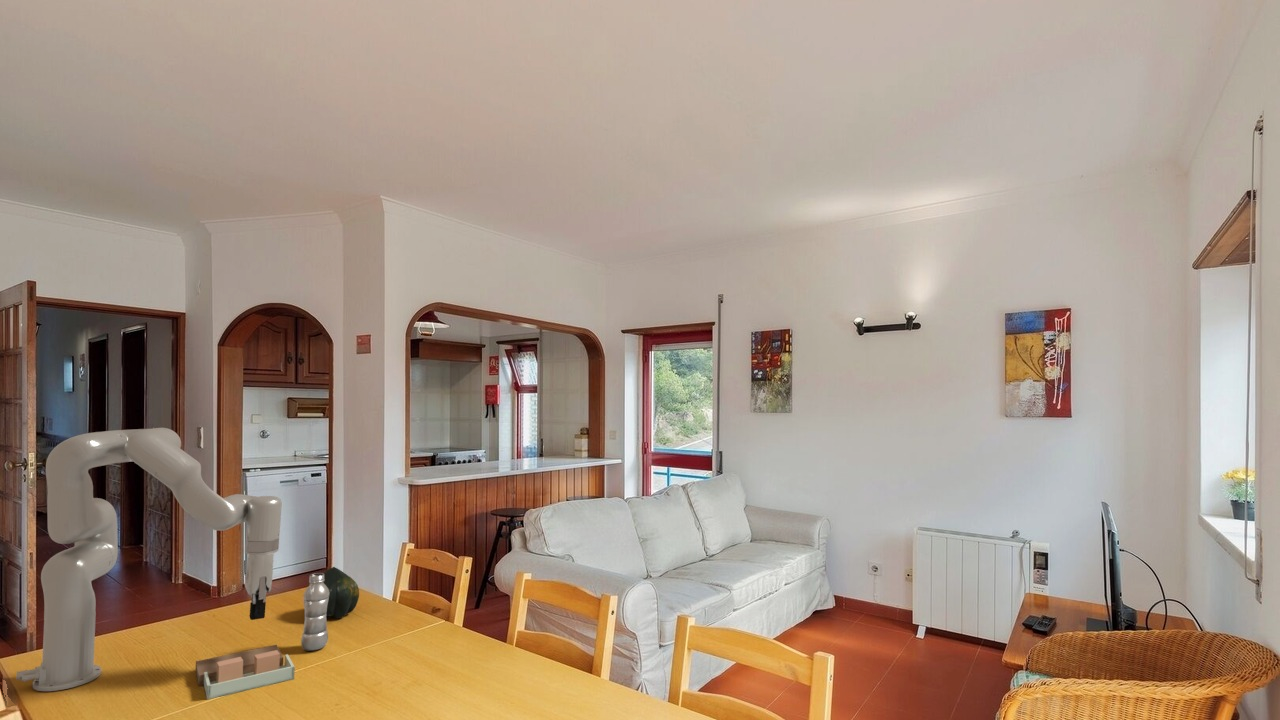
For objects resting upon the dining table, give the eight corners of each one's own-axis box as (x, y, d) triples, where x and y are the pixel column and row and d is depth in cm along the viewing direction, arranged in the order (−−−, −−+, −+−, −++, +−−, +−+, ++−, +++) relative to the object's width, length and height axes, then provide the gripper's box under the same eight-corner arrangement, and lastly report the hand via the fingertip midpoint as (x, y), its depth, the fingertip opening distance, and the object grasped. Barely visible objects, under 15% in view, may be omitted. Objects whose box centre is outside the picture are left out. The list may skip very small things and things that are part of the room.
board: (198, 686, 158) (199, 675, 158) (195, 671, 166) (195, 661, 166) (283, 667, 169) (283, 657, 169) (276, 654, 177) (276, 644, 177)
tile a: (216, 683, 159) (218, 687, 157) (216, 662, 159) (219, 666, 157) (240, 677, 162) (242, 681, 160) (240, 656, 162) (243, 660, 160)
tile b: (253, 675, 163) (256, 679, 161) (254, 655, 163) (256, 659, 161) (276, 670, 166) (279, 674, 164) (277, 649, 167) (279, 653, 164)
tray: (207, 699, 151) (207, 686, 152) (203, 685, 159) (204, 672, 159) (294, 678, 162) (294, 666, 163) (287, 666, 170) (287, 654, 170)
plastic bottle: (295, 650, 179) (297, 576, 180) (317, 642, 185) (320, 570, 186) (311, 655, 176) (313, 579, 177) (333, 646, 182) (335, 573, 183)
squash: (331, 610, 196) (353, 563, 206) (288, 607, 199) (311, 561, 209) (354, 629, 205) (374, 583, 216) (313, 626, 209) (334, 581, 219)
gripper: (241, 540, 173) (236, 611, 172) (249, 554, 161) (243, 630, 160) (273, 538, 178) (269, 607, 177) (283, 550, 166) (278, 624, 165)
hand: (257, 618), depth 169 cm, fingers closed
